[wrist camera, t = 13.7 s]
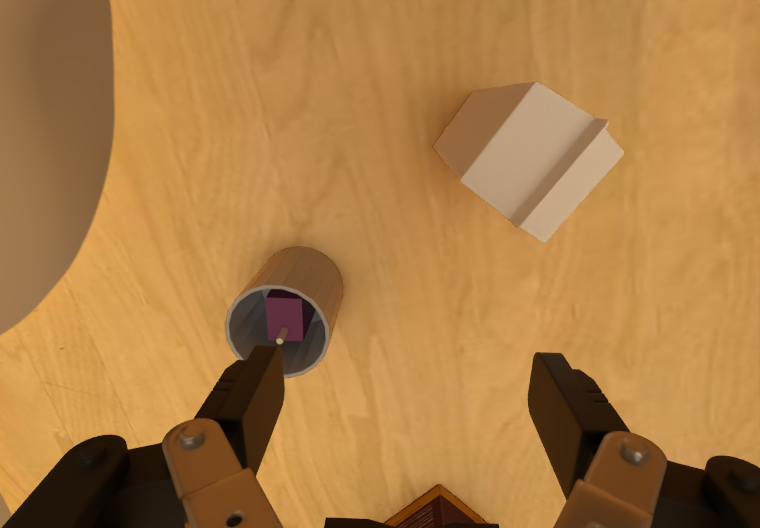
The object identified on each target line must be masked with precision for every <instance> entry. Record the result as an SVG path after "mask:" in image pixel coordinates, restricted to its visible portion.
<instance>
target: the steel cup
mask: <svg viewBox="0 0 760 528" xmlns="http://www.w3.org/2000/svg"><path fill="white" fill-rule="evenodd" d="M271 289H283V290H286V291H289V292H292V293H296V294H298V295H299V296H301V297H302V298H304V299H305V300H307V301H308V302H310V303H311V304H312V306H313V307H314V308H315V309H316V311H315V313H314V316H313V318H312V321H311V323H310V326H309V328H308V331H307V333H306V336H305V338H304V341H283V343H282V344H278V343H277V342H276V340H268V329H267V313H266V296H267V295H268V293H269V292H270V290H271ZM342 297H343V281H342V277H341V275H340V272H339V270H338V268H337V267H336V266H335V264H334V263H333V262H332V261H331V260H330V259H329V258H328V257H327V256H325V255H324V254H322V253H321V252H318V251H316V250H314V249H311V248H306V247H291V248H287V249H284V250H281V251H279V252H277V253H276V254H274V255H273V256H272V257H271V258H270V259H268V260H267V262H266V263H265V264H264V265H263V267H262V268H261V269H260V270H259V271H258V273H257V274H256V275H255V276H254V277H253V279H252V280H251V281H250V282H249V284H248V285H247V286H246V287H245V288H244V290H243V291H242V292H241V293H240V294H239V296H238V297H237V298H236V299H235V301H234V302H233V304H232V305H231V307H230V308H229V310H228V313H227V317H226V321H225V331H226V338H227V341H228V343H229V345H230V347H231V349H232V351H233V353H234V354H235V355H236V357H237V358H238V359H239V360H247V359H248V357H249V355H250V354H251V352H252V350H253V348H254V347H255V346H256V345H279V346H280V347H281V350H282V362H283V374H284V378H291V377H295V376H299V375H303V374H305V373H306V372H308V371H310V370H311V369H313V368H315V367H316V366H317V365H318V364H319V362H320V361H321V360H322V359H323V358H324V356H325V355H326V352H327V349H328V346H329V343H330V339H331V336H332V332H333V329H334V325H335V322H336V318H337V314H338V311H339V307H340V304H341V300H342Z"/></svg>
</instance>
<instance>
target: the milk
mask: <svg viewBox="0 0 760 528" xmlns="http://www.w3.org/2000/svg"><path fill="white" fill-rule="evenodd" d="M608 124H609V121H608V120H607V119H599V118H595V117H593V116H592V115H590V114H588V113H587V112H585V111H584V110H582V109H581V108H579V107H577V106H576V105H574V104H573V103H571V102H570V101H568V100H566V99H565V98H563V97H562V96H560V95H559V94H557V93H555V92H554V91H552V90H551V89H549V88H548V87H546V86H544V85H543V84H541V83H540V82H537V81H535V82H528V83H522V84H515V85H508V86H501V87H495V88H488V89H481V90H475V91H473V92H472V93H471V94H470V96H469V97H468V98H467V100H466V101H465V103H464V104H463V105H462V107H461V108H460V109H459V111H458V112H457V114H456V115H455V116H454V118H453V119H452V121H451V122H450V123H449V125H448V126H447V127H446V129H445V130H444V132H443V133H442V134H441V136H440V137H439V138H438V140H437V141H436V143H435V144H434V145H433V148H434V149H435V151H436V152H437V153H438V154H439V156H440V157H441V158H442V159H443V161H444V162H445V163H446V164H447V166H448V167H449V168H450V169H451V171H452V172H453V173H454V174H455V176H456V177H457V178H458V179H459V181H460V182H461V183H462V184H464V185H465V186H466V187H467V188H469V189H470V190H471V191H472V192H474V193H475V194H476V195H478V196H479V197H480V198H481V199H483V200H484V201H485V202H486V203H488V204H489V205H490V206H491V207H493V208H494V209H495V210H497V211H498V212H499V213H500V214H502V215H503V216H504V217H505V218H507V219H508V220H509V221H510V222H511V223H512V224H513V225H514V226H515V227H517V228H521V229H523V230H524V231H526V232H527V233H529V234H530V235H532V236H533V237H535V238H536V239H538V240H539V241H541V242H542V243H546V242H547V241H548V239H549V238H550V237H551V236H552V235H553V234H554V233H555V232H556V230H557V229H558V228H559V227H560V226H561V225H562V224H563V223H564V221H565V220H566V219H567V218H568V217H569V216H570V215H571V214H572V212H573V211H574V210H575V209H576V208H577V207H578V206H579V204H580V203H581V202H582V201H583V200H584V199H585V198H586V197H587V195H588V194H589V193H590V192H591V191H592V190H593V189H594V188H595V186H596V185H597V184H598V183H599V182H600V181H601V180H602V179H603V177H604V176H605V175H606V174H607V173H608V172H609V171H610V170H611V168H612V167H613V166H614V165H615V164H616V163H617V162H618V160H619V159H620V158H621V157H622V156H623V155H624V151H623V150H622V149H621V147H620V146H619V145H618V144H617V143H616V141H615V140H614V139H613V138H612V137H611V135H610V134H609V133H608V132H607V131H606V128H607V127H608Z"/></svg>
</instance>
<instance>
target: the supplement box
mask: <svg viewBox="0 0 760 528" xmlns="http://www.w3.org/2000/svg"><path fill="white" fill-rule="evenodd" d="M455 522H458V523H485V524H487V523H486V522H485V521H484V520H483V519H481V518H480V517H479V516H478V515H476V514H475V513H474V512H473V511H472V510H470V509H469V508H468V507H467V506H465V505H464V504H463V503H462V502H460V501H459V500H458V499H457V498H456V497H454V496H453V495H452V494H451V493H449V492H448V491H447V490H446V489H445V488H443V487H442V486H441V485H438V486H436V487H435V488H433V489H432V490H431V491H429V492H428V493H426V494H425V495H424V496H422V497H421V498H419V499H418V500H417V501H415V502H414V503H412V504H411V505H409V506H408V507H407V508H405V509H404V510H402V511H401V512H400V513H398V514H397V515H395V516H394V517H393V518H391V519H390V520H388V521H387V522H386V523H384V524H387V525H391V526H394V527H398V528H431V527H436V526H441V525H446V524H450V523H455Z"/></svg>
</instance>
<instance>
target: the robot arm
mask: <svg viewBox="0 0 760 528" xmlns="http://www.w3.org/2000/svg"><path fill="white" fill-rule="evenodd" d="M284 391H285V387H284V374H283V362H282V350H281V347H280V346H279V345H256V346H255V347H254V348H253V350H252V352H251V354H250V355H249V357H248V359H247V360H237V361H236V362H235V363H233V364H232V365H231V366H229V367H228V368H226V369H225V371H224V372H223V374H222V376H221V377H220V379H219V382H217V383H216V385H215V386H214V388H213V391H211V393H210V394H209V396H208V397H207V399H206V400H205V402H204V403H203V405H202V407H201V408H200V410H199V411H198V413H197V414H196V416H195V417H194V419H192V420H189V421H185V422H183V423H181V424H179V425H177V426H175V427H174V428H172V429H171V430H170V431H169V432H168V433H167V434H166V435H165V437H164V439H163V441H162V443H158V444H154V445H149V446H144V447H139V448H134V449H129V450H128V449H127V444H126V441H125V440H124V439H123V438H122V437H120V436H117V435H102V436H97V437H93V438H91V439H88V440H86V441H83V442H81V443H80V444H78V445H76V446H75V447H73V448H72V449H70V450H69V451H68V452H67V453H66V454H65V455H64V456H63V457H62V458H61V460H60V461H59V462H58V463H57V464H56V465H55V466H54V468H53V469H52V470H51V471H50V472H49V473H48V475H47V476H46V477H45V478H44V479H43V480H42V482H41V483H40V484H39V485H38V486H37V487H36V489H35V490H34V491H33V492H32V493H31V494H30V495H29V497H28V498H27V499H26V500H25V501H24V502H23V504H22V505H21V506H20V507H19V508H18V509H17V511H16V512H15V513H14V514H13V515H12V516H11V518H10V519H9V520H8V521H7V522H6V523H5V525H4V526H3V527H2V528H283V526H282V524H281V522H280V521H279V519H278V517H277V515H276V513H275V511H274V510H273V508H272V506H271V504H270V502H269V500H268V499H267V497H266V495H265V493H264V491H263V490H262V488H261V486H260V484H259V482H258V480H257V479H256V474H257V472H258V469H259V467H260V464H261V461H262V459H263V456H264V453H265V451H266V448H267V445H268V443H269V440H270V438H271V435H272V432H273V430H274V427H275V424H276V422H277V419H278V416H279V414H280V411H281V408H282V405H283V401H284ZM528 407H529V412H530V415H531V418H532V420H533V423H534V425H535V427H536V430H537V432H538V434H539V437H540V439H541V441H542V444H543V446H544V448H545V451H546V453H547V456H548V458H549V460H550V463H551V465H552V467H553V470H554V472H555V474H556V477H557V479H558V481H559V484H560V486H561V488H562V491H563V493H564V495H565V498H566V500H567V502H566V504H565V506H564V508H563V510H562V512H561V514H560V516H559V517H558V519H557V521H556V523H555V525H554V527H553V528H760V468H759V467H757V466H756V465H753V464H751V463H749V462H747V461H744V460H742V459H738V458H735V457H731V456H714V457H711V458H710V459H709V460H708V461H707V464H706V467H705V470H702V469H698V468H694V467H690V466H686V465H682V464H678V463H675V462H671V461H668V460H667V458H666V456H665V454H664V453H663V451H662V450H661V449H660V448H659V447H658V446H657V445H656V444H654V443H653V442H651V441H650V440H648V439H646V438H644V437H642V436H640V435H637V434H634V433H631V432H630V430H629V429H628V428H627V426H626V425H625V423H624V422H623V421H622V419H621V418H620V416H619V415H618V414H617V412H616V411H615V409H614V408H613V406H612V405H611V404H610V403H608V399H607V398H606V397H605V395H604V394H603V393H602V391H601V389H600V388H599V387H598V385H597V384H596V382H595V381H594V380H593V379H592V378H591V377H589V376H588V375H586V374H585V373H584V372H582V371H581V370H578V369H572V368H571V366H570V365H569V363H568V362H567V360H566V359H565V357H564V356H563V355H562V354H561V353H540V352H537V353H535V355H534V358H533V364H532V370H531V377H530V384H529V391H528ZM324 528H398V527H394V526H391V525H387V524H384V523H380V522H377V521H373V520H369V519H352V518H326V520H325V526H324ZM431 528H499V524H485V523H458V522H455V523H450V524H446V525H441V526H436V527H431Z"/></svg>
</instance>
